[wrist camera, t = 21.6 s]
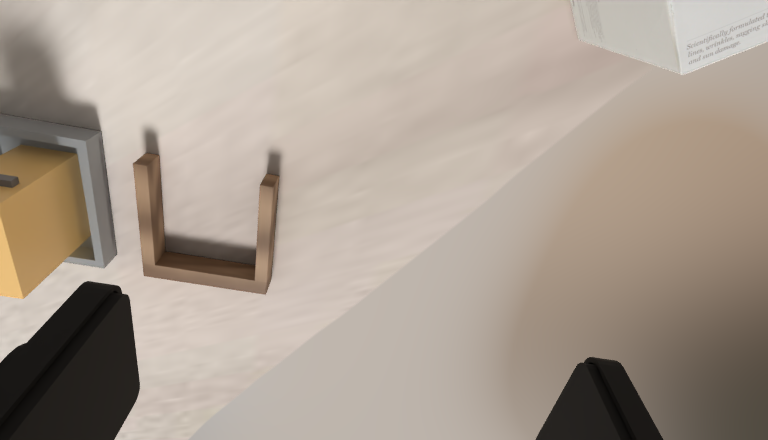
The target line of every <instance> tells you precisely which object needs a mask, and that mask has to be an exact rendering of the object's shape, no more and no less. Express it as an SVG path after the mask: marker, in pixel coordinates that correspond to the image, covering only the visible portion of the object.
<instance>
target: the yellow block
mask: <svg viewBox="0 0 768 440" xmlns="http://www.w3.org/2000/svg"><path fill="white" fill-rule="evenodd" d="M90 236H91V231H90V225H89V219H88V213H87V207H86V202H85V196H84V190H83V184H82V178H81V172H80V166H79V160H78V155H77V154H76V153H70V152H64V151H58V150H51V149H45V148H39V147H33V146H27V145H19V146H17V147H15V148H13V149H11V150H10V151H8V152H6V153H4V154H2V155H0V296H6V297H14V298H21V299H24V298H25V297H26V296H27V295H28V294H29V293H30V292H31V291H32V290H33V289H35V288H36V287H37V286H38V285H39V284H40V283H41V282H42V281H43V280H44V279H45V278H46V277H47V276H48V275H49V274H50V273H52V272H53V271H54V270H55V269H56V268H57V267H58V266H59V265H60V264H61V263H62V262H63V261H64V260H65V259H66V258H67V257H69V256H70V255H71V254H72V253H73V252H74V251H75V250H76V249H77V248H78V247H79V246H80V245H81V244H82V243H83V242H84V241H86V240H87V239H88V238H89V237H90Z"/></svg>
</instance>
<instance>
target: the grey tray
mask: <svg viewBox="0 0 768 440" xmlns="http://www.w3.org/2000/svg"><path fill="white" fill-rule="evenodd" d="M19 145H27V146H33V147H39V148H45V149H51V150H58V151H64V152H70V153H76V154H77V155H78V160H79V166H80V172H81V178H82V184H83V190H84V196H85V202H86V207H87V213H88V219H89V225H90V231H91V236H90V237H89V238H88V239H87V240H86V241H84V242H83V243H82V244H81V245H80V246H79V247H78V248H77V249H76V250H75V251H74V252H73V253H72V254H71V255H70V256H69V257H67V258H66V259H65V260H64V261H63V262H66V263H73V264H79V265H86V266H92V267H99V268H105V267H106V266H107V265H108V264H109V263H110V262H111V260H112V259H113V258H114V257H115V256H116V255H117V250H116V242H115V235H114V227H113V219H112V211H111V203H110V196H109V188H108V180H107V172H106V165H105V157H104V149H103V141H102V133H101V131H97V130H91V129H85V128H79V127H74V126H68V125H62V124H57V123H51V122H45V121H39V120H34V119H28V118H22V117H16V116H11V115H5V114H0V155H2V154H4V153H6V152H8V151H10V150H11V149H13V148H15V147H17V146H19Z"/></svg>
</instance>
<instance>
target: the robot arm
mask: <svg viewBox="0 0 768 440" xmlns="http://www.w3.org/2000/svg"><path fill="white" fill-rule="evenodd" d="M139 389H140V382H139V373H138V365H137V357H136V348H135V340H134V331H133V323H132V315H131V306H130V299H129V296H128V295H126V294H122V291H121V288H120V287H119V286H116V285H110V284H103V283H97V282H90V281H87V282H84V283H83V284H82V285H81V286H79V288H78V289H77V290H76V291H75V292H74V293H73V294H72V295H71V296H70V297H69V298H68V299H67V300H66V301H65V302H64V304H63V305H62V306H61V307H60V308H59V309H58V310H57V311H56V312H55V313H54V314H53V315H52V316H51V317H50V319H49V320H48V321H47V322H46V323H45V324H44V325H43V326H42V327H41V328H40V329H39V330H38V331H37V332H36V333H35V335H34V336H33V337H32V338H31V339H30V340H29V341H28V342H27V343H24V344H22V345H20V346H18V347H16V348H15V349H14V350H13V351H12V352H11V353H9V354H8V355H7V356H6V357H5V358H4V360H3V361H2V362H1V363H0V440H114V439H115V437H116V435H117V434H118V432H119V430H120V428H121V427H122V425H123V423H124V421H125V420H126V418H127V416H128V414H129V413H130V411H131V409H132V407H133V406H134V404H135V402H136V400H137V397H138V394H139ZM536 440H663V438H662V436H661V435H660V433H659V431H658V429H657V427H656V426H655V424H654V422H653V420H652V418H651V417H650V415H649V413H648V411H647V409H646V408H645V406H644V404H643V402H642V400H641V398H640V397H639V395H638V393H637V391H636V389H635V387H634V386H633V384H632V382H631V380H630V379H629V377H628V375H627V373H626V371H625V369H624V367H623V366H622V365H621V363H619V362H618V361H614V360H607V359H600V358H594V357H589V358H587V359H586V360H585V362H584V363H579V364H578V365H577V366H576V368H575V370H574V371H573V373H572V375H571V377H570V379H569V380H568V382H567V384H566V386H565V387H564V389H563V391H562V393H561V395H560V396H559V398H558V400H557V402H556V404H555V405H554V407H553V409H552V411H551V413H550V414H549V416H548V418H547V420H546V422H545V424H544V425H543V427H542V429H541V430H540V432H539V434H538V436H537V438H536Z"/></svg>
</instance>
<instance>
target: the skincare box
mask: <svg viewBox="0 0 768 440" xmlns="http://www.w3.org/2000/svg"><path fill="white" fill-rule="evenodd" d="M570 2H571V7H572V12H573V17H574V21H575V26H576V30H577V36H578V39H579V40H580V41H583V42H586V43H588V44H591V45H595V46H598V47H601V48H604V49H607V50H609V51H612V52H615V53H618V54H622V55H625V56H628V57H631V58H634V59H637V60H640V61H643V62H646V63H649V64H652V65H655V66H658V67H661V68H664V69H667V70H670V71H674V72H676V73H679V74H680V75H684V74H687V73H690V72H692V71H695V70H697V69H700V68H702V67H705V66H707V65H710V64H713V63H715V62H718V61H720V60H723V59H725V58H728V57H730V56H733V55H735V54H738V53H740V52H743V51H746V50H749V49H751V48H754V47H756V46H758V45H761V44H764V43H766V42H768V0H570Z"/></svg>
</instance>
